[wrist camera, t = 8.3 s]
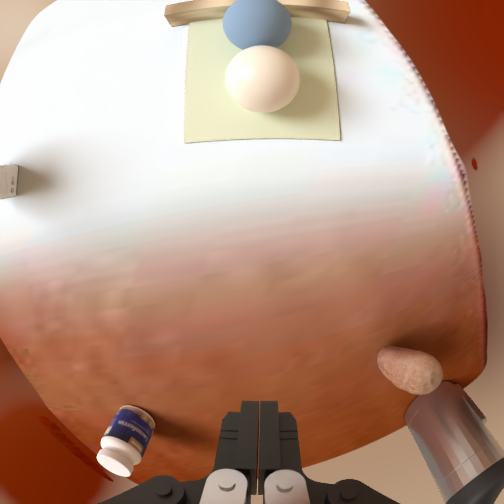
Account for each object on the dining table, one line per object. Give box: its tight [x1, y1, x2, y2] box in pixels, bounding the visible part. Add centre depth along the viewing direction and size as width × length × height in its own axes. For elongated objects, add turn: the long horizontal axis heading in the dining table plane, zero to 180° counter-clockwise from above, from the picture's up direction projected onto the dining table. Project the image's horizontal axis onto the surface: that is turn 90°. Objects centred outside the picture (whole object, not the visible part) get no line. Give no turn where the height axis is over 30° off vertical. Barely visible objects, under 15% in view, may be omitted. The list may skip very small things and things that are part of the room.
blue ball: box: [223, 0, 292, 50], centre depth 17 cm, size 6×6×6 cm
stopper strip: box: [164, 0, 350, 27], centre depth 18 cm, size 18×2×2 cm, turn 91°
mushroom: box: [377, 346, 443, 395], centre depth 23 cm, size 8×6×8 cm
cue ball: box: [225, 45, 300, 113], centre depth 19 cm, size 6×6×6 cm
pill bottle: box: [97, 405, 155, 477], centre depth 26 cm, size 6×6×10 cm
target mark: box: [184, 17, 340, 143], centre depth 21 cm, size 14×14×1 cm
